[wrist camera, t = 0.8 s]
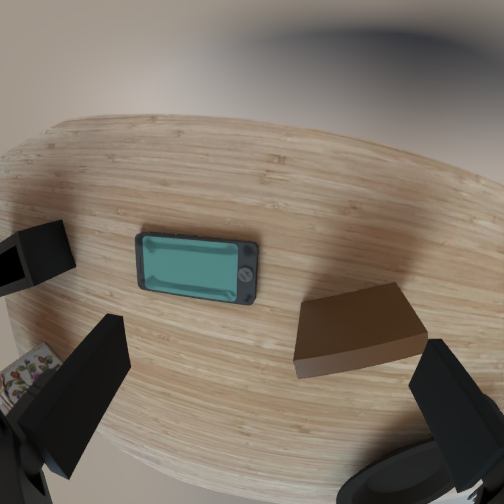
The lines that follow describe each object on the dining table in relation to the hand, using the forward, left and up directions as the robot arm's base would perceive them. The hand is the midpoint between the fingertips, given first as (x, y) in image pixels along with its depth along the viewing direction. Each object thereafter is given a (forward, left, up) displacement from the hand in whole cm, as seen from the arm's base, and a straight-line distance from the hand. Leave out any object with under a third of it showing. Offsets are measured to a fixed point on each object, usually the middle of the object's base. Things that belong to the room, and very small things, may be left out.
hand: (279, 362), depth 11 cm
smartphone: (+13, 0, -22) cm, 25 cm away
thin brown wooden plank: (-4, +7, -21) cm, 23 cm away
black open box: (+42, -6, -21) cm, 47 cm away
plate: (-13, +42, -21) cm, 49 cm away
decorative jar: (+52, +18, -22) cm, 59 cm away
